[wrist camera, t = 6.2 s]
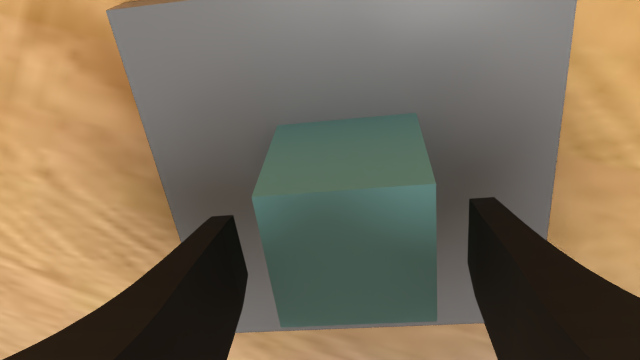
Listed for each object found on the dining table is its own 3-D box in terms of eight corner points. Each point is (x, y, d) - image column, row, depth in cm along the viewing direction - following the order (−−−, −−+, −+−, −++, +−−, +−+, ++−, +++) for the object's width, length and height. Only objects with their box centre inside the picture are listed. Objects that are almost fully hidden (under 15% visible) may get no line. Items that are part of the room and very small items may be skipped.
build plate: (526, 297, 18) (536, 321, 17) (218, 310, 20) (210, 333, 19) (564, -53, 13) (583, -49, 11) (124, 2, 14) (105, 10, 13)
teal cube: (419, 229, 16) (437, 321, 12) (297, 236, 16) (280, 327, 13) (416, 112, 14) (436, 183, 10) (277, 125, 14) (251, 196, 11)
